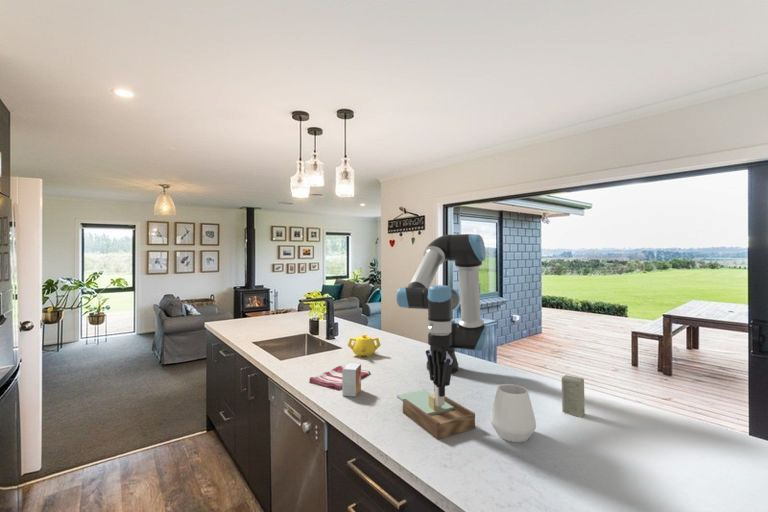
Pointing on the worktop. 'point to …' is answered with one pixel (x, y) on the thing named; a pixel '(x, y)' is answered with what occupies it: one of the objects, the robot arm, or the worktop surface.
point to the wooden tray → (441, 419)
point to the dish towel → (333, 378)
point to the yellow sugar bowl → (364, 345)
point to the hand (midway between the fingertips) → (439, 404)
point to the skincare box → (573, 395)
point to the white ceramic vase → (512, 413)
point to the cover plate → (425, 402)
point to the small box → (351, 380)
